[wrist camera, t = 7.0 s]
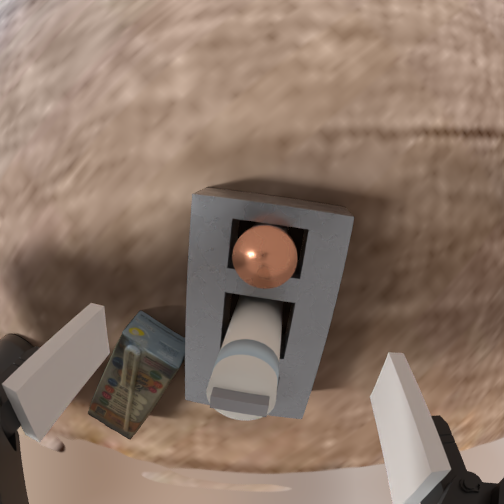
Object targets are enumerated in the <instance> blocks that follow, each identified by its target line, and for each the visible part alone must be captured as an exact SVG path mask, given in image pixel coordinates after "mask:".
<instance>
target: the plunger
mask: <svg viewBox="0 0 504 504" xmlns="http://www.w3.org/2000/svg"><path fill="white" fill-rule="evenodd" d="M232 260H233V265H234V268H235V270H236V272H237V274H238V275H239V277H240V278H241V279H242V280H243V281H245V282H246V283H248V284H249V285H251V286H254V287H257V288H262V289H270V288H275V287H278V286H280V285H282V284H284V283H285V282H286V281H288V280H289V279H290V277H291V276H292V275H293V273H294V271H295V269H296V265H297V249H296V246H295V243H294V241H293V240H292V238H291V237H290V232H289V229H288V227H287V226H282V225H276V224H269V223H262V222H256V223H255V224H254V225H253V227H251V228H249V229H248V230H246V231H245V232H244V233H243V234H242V235H241V236H240V237H239V239H238V240H237V242H236V244H235V246H234V249H233V254H232Z"/></svg>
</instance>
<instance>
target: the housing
mask: <svg viewBox="0 0 504 504" xmlns="http://www.w3.org/2000/svg"><path fill="white" fill-rule="evenodd" d="M240 220H248V221H255V222H262V223H269V224H276V225H282V226H289V227H296V228H302V229H304V234H303V240H302V246H301V252H300V258H299V261H298V260H297V265H296V269H295V271H294V273H293V275H292V276H291V277H290V279H289V280H288V281H286V282H285V283H284V284H282V285H280V286H278V287H275V288H270V289H262V288H257V287H254V286H251V285H249V284H248V283H246V282H245V281H243V280H242V279H241V278H240V277H239V275H238V274H237V272H236V270H235V268H234V265H233V260H232V254H233V249H234V246H235V244H236V242H237V239H238V230H239V221H240ZM353 221H354V216H353V215H352V214H351V213H350V212H349V211H348V210H347V209H346V207H343V206H337V205H331V204H325V203H319V202H312V201H306V200H299V199H293V198H286V197H279V196H272V195H265V194H257V193H250V192H242V191H234V190H226V189H218V188H209V187H206V188H204V189H202V190H200V191H198V192H195V193H193V194H192V206H191V220H190V235H189V252H188V271H187V295H186V331H185V400H189V401H193V402H198V403H202V404H207V405H210V403H209V401H208V398H207V394H206V390H207V386H208V383H209V381H210V378H211V375H212V370H213V367H214V365H215V362H216V359H217V356H218V353H219V352H220V350H221V347H222V344H223V341H224V338H225V336H226V333H227V330H228V327H229V316H230V306H231V296H232V293H234V294H240V295H246V296H253V297H259V298H266V299H272V300H279V301H286V302H291V307H290V313H289V318H288V323H287V328H286V333H285V334H283V333H281V345H280V358H279V378H278V386H277V394H276V403H275V406H274V408H273V409H272V411H271V412H270V413H268V414H267V415H271V416H279V417H287V418H296V419H302V418H303V415H304V412H305V409H306V405H307V402H308V399H309V396H310V393H311V390H312V387H313V383H314V380H315V377H316V373H317V370H318V367H319V363H320V360H321V356H322V353H323V349H324V346H325V342H326V338H327V335H328V331H329V327H330V323H331V320H332V316H333V312H334V308H335V304H336V300H337V296H338V291H339V287H340V283H341V279H342V274H343V270H344V265H345V261H346V256H347V251H348V247H349V242H350V237H351V232H352V227H353Z"/></svg>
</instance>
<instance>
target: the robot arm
mask: <svg viewBox="0 0 504 504" xmlns="http://www.w3.org/2000/svg"><path fill="white" fill-rule="evenodd" d="M109 354H110V350H109V343H108V335H107V327H106V318H105V309H104V306H102V305H98V304H94V303H90V304H89V305H88V306H87V307H86V308H84V309H83V310H82V311H81V312H80V313H79V314H77V315H76V316H75V317H74V318H73V319H72V320H71V321H69V322H68V323H67V324H66V325H65V326H64V327H63V328H61V329H60V330H59V331H58V332H57V333H56V334H55V335H54V336H53V337H51V338H50V339H49V340H48V341H47V342H46V343H45V344H44V345H43V346H41V347H37V346H36V347H33V346H32V345H31V344H29V343H28V342H27V341H25V340H24V339H22V338H21V337H19V336H17V335H13V334H7V335H5V336H4V337H3V338H1V339H0V504H29V502H28V497H27V492H26V486H25V480H24V474H23V467H22V460H21V452H20V441H19V434H18V431H17V430H18V428H19V427H20V426H21V427H22V429H23V431H24V432H25V434H26V435H27V436H29V437H31V438H32V439H34V440H36V441H38V442H41V440H42V439H43V438H44V436H45V435H46V434H47V432H48V431H49V430H50V428H51V427H52V426H53V424H54V423H55V422H56V420H57V419H58V418H59V417H60V415H61V414H62V413H63V411H64V410H65V409H66V408H67V406H68V405H69V404H70V402H71V401H72V400H73V399H74V397H75V396H76V395H77V394H78V392H79V391H80V390H81V388H82V387H83V386H84V385H85V383H86V382H87V381H88V380H89V378H90V377H91V376H92V375H93V373H94V372H95V371H96V370H97V368H98V367H99V366H100V365H101V364H102V362H103V361H104V360H105V359H106V357H107V356H108V355H109ZM370 400H371V404H372V408H373V412H374V416H375V420H376V425H377V429H378V433H379V438H380V442H381V447H382V452H383V456H384V461H385V466H386V471H387V476H388V481H389V487H390V492H391V498H392V503H393V504H419V503H421V504H504V478H503V479H502V480H501V481H500V482H499V483H498V484H496V483H484V482H482V481H481V479H480V478H479V477H478V476H477V475H476V474H474V473H472V472H469V471H467V470H466V468H465V465H464V462H463V460H462V457H461V455H460V452H459V450H458V447H457V445H456V443H455V440H454V437H453V436H452V433H451V430H450V428H449V426H448V424H447V423H446V422H445V421H444V419H443V418H442V417H441V416H431V415H430V412H429V410H428V407H427V405H426V403H425V400H424V398H423V396H422V393H421V391H420V389H419V386H418V384H417V382H416V379H415V377H414V375H413V373H412V371H411V368H410V366H409V364H408V362H407V360H406V357H405V355H404V353H392V352H388V355H387V358H386V360H385V363H384V365H383V368H382V370H381V373H380V375H379V377H378V380H377V382H376V384H375V387H374V389H373V391H372V394H371V396H370Z"/></svg>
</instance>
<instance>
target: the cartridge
mask: <svg viewBox="0 0 504 504" xmlns="http://www.w3.org/2000/svg"><path fill="white" fill-rule="evenodd" d="M282 317H283V301H279V300H272V299H266V298H259V297H253V296H246V295H240V296H239V299H238V302H237V305H236V307H235V310H234V313H233V316H232V319H231V322H230V324H229V327H228V330H227V333H226V336H225V338H224V341H223V344H222V347H221V350H220V352H219V353H218V356H217V359H216V362H215V365H214V367H213V370H212V375H211V378H210V381H209V383H208V386H207V390H206V394H207V398H208V401H209V403H210V408H214V409H215V410H217V411H218V412H219V413H221V414H223V415H224V416H227V417H229V418H232V419H236V420H255V419H259V418H262V417H266V416H267V414H268V413H270V412H271V411H272V409H273V408H274V406H275V403H276V394H277V386H278V378H279V358H280V345H281V331H282Z"/></svg>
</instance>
